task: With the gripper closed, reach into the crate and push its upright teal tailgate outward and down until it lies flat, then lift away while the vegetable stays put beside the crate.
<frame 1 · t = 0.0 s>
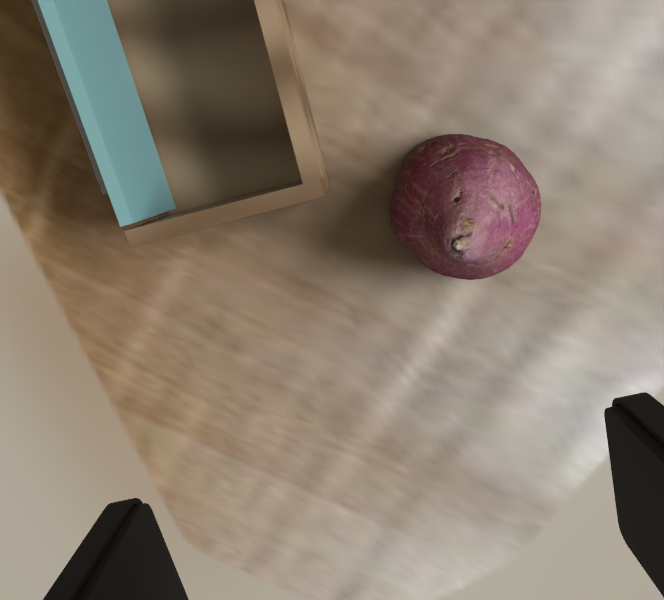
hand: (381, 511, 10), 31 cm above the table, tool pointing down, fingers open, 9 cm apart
tailgate: (78, 22, 31), point 6 cm above the table, hinge at 0.0°
crate: (198, 17, 36), on the table
vegetable: (457, 203, 40), on the table
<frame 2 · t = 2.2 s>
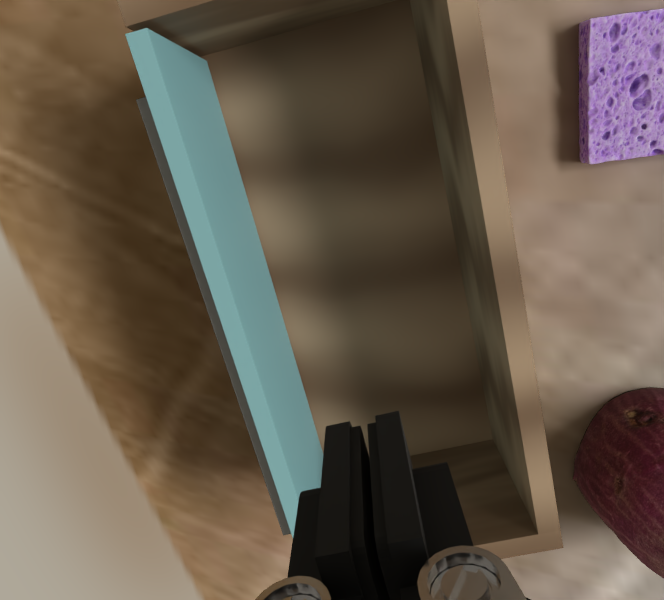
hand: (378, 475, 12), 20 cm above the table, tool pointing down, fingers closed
tailgate: (249, 315, 25), point 6 cm above the table, hinge at 0.0°
crate: (364, 259, 30), on the table
vegetable: (653, 455, 34), on the table
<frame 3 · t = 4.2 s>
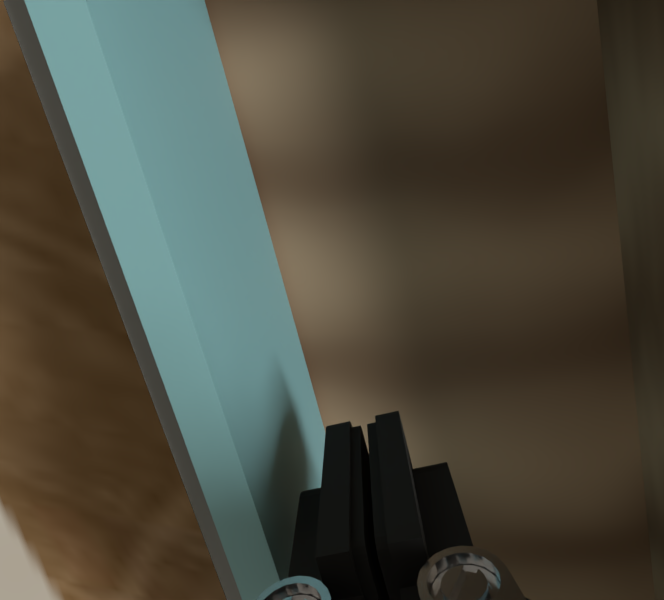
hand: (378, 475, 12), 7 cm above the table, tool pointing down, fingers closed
tailgate: (272, 455, 13), point 6 cm above the table, hinge at 0.4°, touching gripper
crate: (458, 328, 18), on the table
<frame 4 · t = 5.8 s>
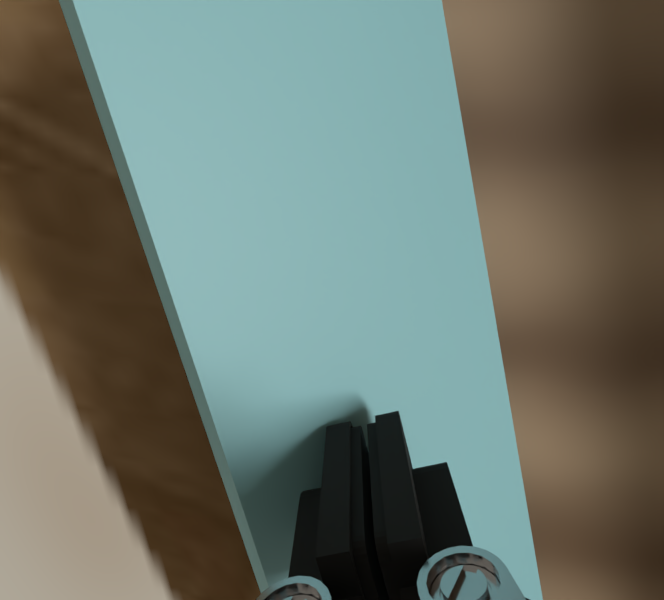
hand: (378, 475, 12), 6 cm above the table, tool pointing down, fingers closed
tailgate: (382, 442, 13), point 4 cm above the table, hinge at 53.3°, touching gripper
crate: (660, 312, 16), on the table
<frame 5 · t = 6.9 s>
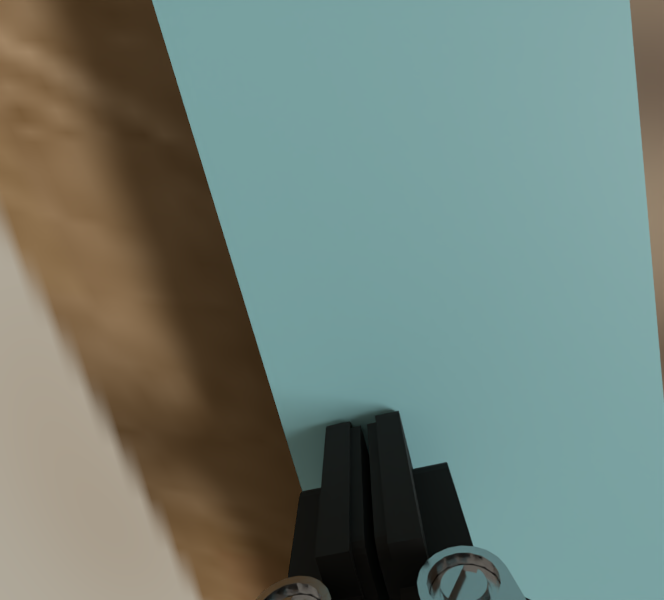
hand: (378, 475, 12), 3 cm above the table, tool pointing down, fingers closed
tailgate: (470, 433, 12), point 2 cm above the table, hinge at 88.7°, touching gripper
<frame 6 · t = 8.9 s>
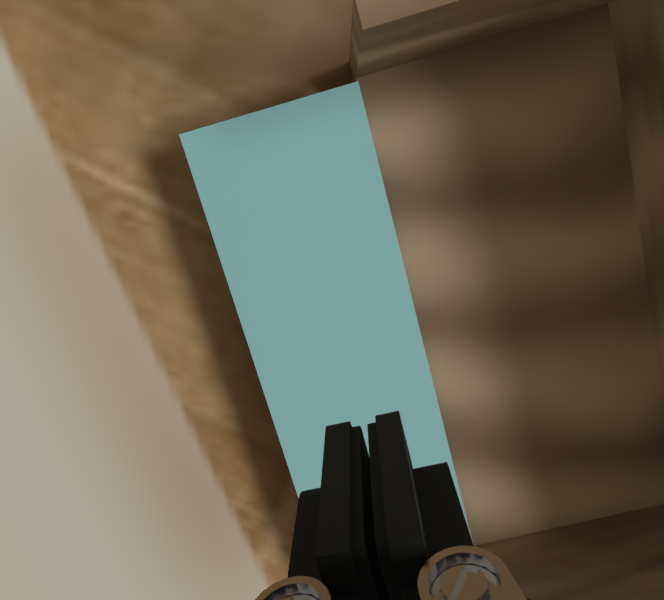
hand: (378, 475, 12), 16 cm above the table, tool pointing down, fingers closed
tailgate: (341, 359, 26), point 2 cm above the table, hinge at 90.1°
crate: (531, 298, 27), on the table
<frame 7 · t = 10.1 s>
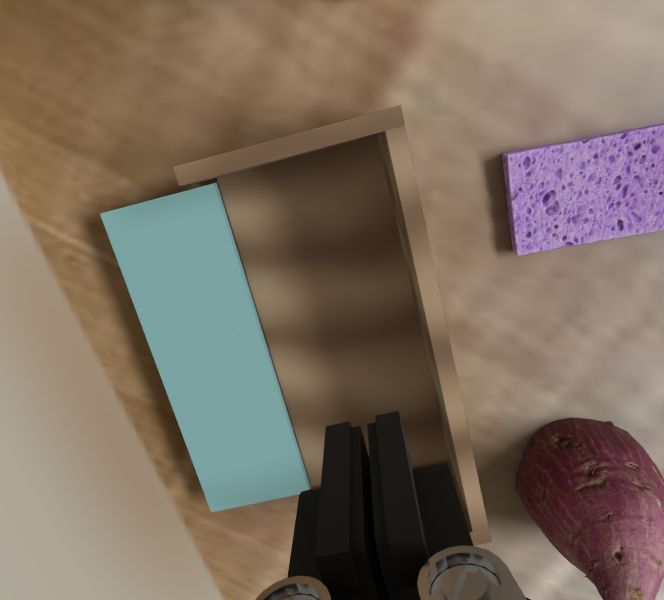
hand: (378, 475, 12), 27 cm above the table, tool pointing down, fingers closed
tailgate: (214, 359, 38), point 2 cm above the table, hinge at 90.1°
crate: (347, 320, 39), on the table
vegetable: (578, 471, 42), on the table
sponges: (593, 187, 37), on the table
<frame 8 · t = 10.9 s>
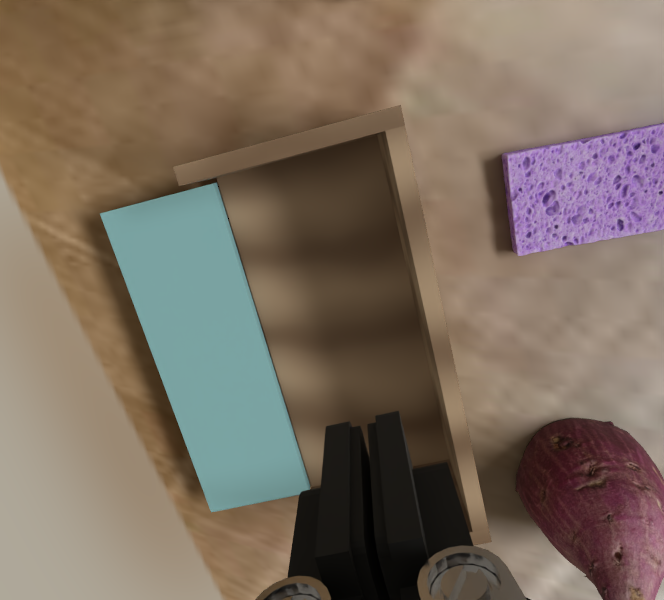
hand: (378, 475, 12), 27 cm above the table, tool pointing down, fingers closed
tailgate: (214, 359, 38), point 2 cm above the table, hinge at 90.1°
crate: (347, 320, 39), on the table
vegetable: (578, 471, 42), on the table
sponges: (593, 186, 37), on the table
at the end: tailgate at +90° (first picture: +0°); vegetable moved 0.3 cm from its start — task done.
